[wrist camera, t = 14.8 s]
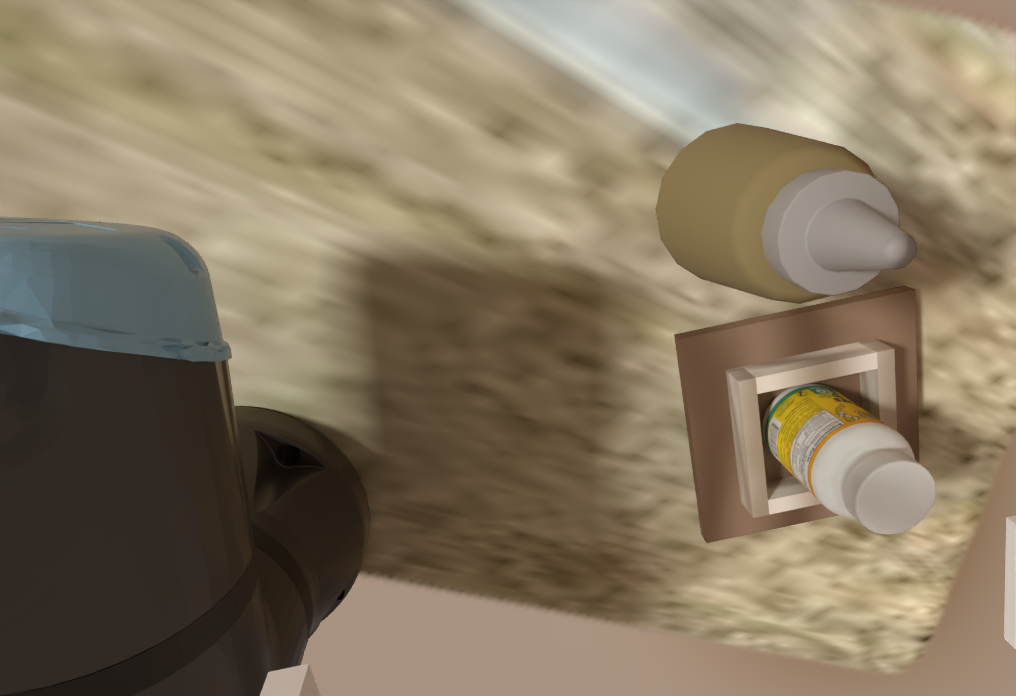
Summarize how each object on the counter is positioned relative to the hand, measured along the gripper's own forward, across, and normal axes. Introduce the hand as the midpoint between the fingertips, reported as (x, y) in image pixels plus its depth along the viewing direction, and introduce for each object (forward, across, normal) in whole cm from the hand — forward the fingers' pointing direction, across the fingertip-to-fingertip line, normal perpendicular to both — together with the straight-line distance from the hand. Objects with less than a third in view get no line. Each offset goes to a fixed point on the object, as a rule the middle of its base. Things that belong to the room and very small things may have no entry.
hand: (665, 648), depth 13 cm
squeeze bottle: (+29, +11, +4) cm, 31 cm away
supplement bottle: (+28, +15, -11) cm, 33 cm away
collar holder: (+29, +15, -11) cm, 34 cm away
